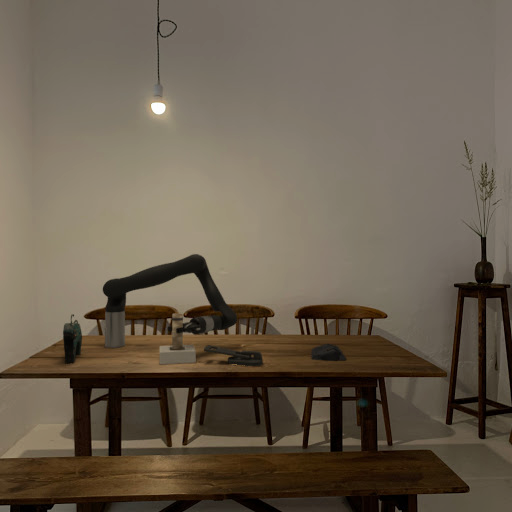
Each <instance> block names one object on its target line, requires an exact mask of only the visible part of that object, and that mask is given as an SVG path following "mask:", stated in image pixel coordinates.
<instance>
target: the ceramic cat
mask: <svg viewBox="0 0 512 512" xmlns="http://www.w3.org/2000/svg"><path fill="white" fill-rule="evenodd" d="M74 317H75V314H72V313H71V315H70V322H67V323H64V324H63V330H62V336H63V337H62V340H63V350H64V363H65V364H67V365H68V364H69V365H70V363H72V364H75V362H76V355H78V356H81V354H82V350H81V349H82V342H83V332H82V328H81V327H82V326H81V325H80V323H78V320H77V319H75V320H74V321H72V318H74Z"/></svg>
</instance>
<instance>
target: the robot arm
mask: <svg viewBox="0 0 512 512" xmlns="http://www.w3.org/2000/svg"><path fill="white" fill-rule="evenodd" d="M206 260H207V259H205V257H204V256H202V255H200V254H198V253H192V254H190V255H188V256H186V257H183V258H181V259H178V260H175V261H172V262H168V263H163V264H158V265H154V266H151V267H148V268H146V269H143V270H140V271H138V272H135V273H132V274H131V275H128V276H124V277H120V278H111V279H109V280H107V281H106V282H105V283H104V284H103V286H102V293H103V295H104V296H105V297H107V301H106V305H105V307H104V308H105V309H104V310H105V313H104V315H105V317H104V319H105V321H104V323H105V326H104V327H105V328H104V348H108V349H109V348H111V349H113V348H116V349H117V348H122V347H125V346H126V329H125V328H126V327H125V326H126V320H125V319H126V313H125V312H126V305H127V304H126V303H127V293H129V292H133V291H136V290H142V289H148V288H153V287H157V286H160V285H162V284H165V283H168V282H169V281H171V280H174V279H175V278H176V279H177V277H181V276H185V275H191V274H194V275H195V277H196V278H197V279H198V281H199V283H200V285H201V287H202V289H203V292H204V294H205V296H206V299H207V301H208V304H209V305H210V307H211V308H212V310H213V312H216V313H217V312H220V313H221V315H216V314H215V315H212V314H211V315H206V316H205V315H204V316H196V317H192V318H191V319H190V320H189V322H188V321H187V322H183V327H181V328H177V329H176V333H183V334H185V333H186V334H187V333H188V334H193V335H200V334H206V333H208V332H212V331H224V330H228V329H230V328H232V327H233V326H235V325H236V324H237V323H238V316H237V314H236V312H235V311H234V310H233V309H232V308H231V307H230V305H229V304H228V303H226V301H225V299H224V297H223V295H222V293H221V292H220V289H219V288H218V286H217V284H216V283H215V281H214V279H213V277H212V275H211V272H210V270H209V267H208V263H207V261H206ZM167 332H172V325H168V326H167Z"/></svg>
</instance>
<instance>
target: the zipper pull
mask: <svg viewBox="0 0 512 512" xmlns="http://www.w3.org/2000/svg"><path fill="white" fill-rule="evenodd" d="M203 351H204V352H207V353H214V354H220V355H225V356H229V357H227V364H228V363H229V364H237V365H245V366H244V367H248V366H258V367H260V365H261V366H262V365H263V363H264V361H263V354H262V353H261V352H260V351H259V350H258V351H257V350H242V351H240V350H233V349H230V348H225V347H220V346H216V345H211V344H209V345H206V346H205V347H204V348H203ZM229 364H228V365H229Z"/></svg>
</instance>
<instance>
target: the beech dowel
mask: <svg viewBox="0 0 512 512" xmlns="http://www.w3.org/2000/svg"><path fill="white" fill-rule="evenodd" d="M171 319H172V320H171V321H172V325H171V326H172V331H171V332H172V337H171V338H172V342H171V345H172V350H183V345H184V343H183V342H184V338H183V337H184V335H183V334H184V332H183V333H176V329H177V328H181V327H183V323H184V313H181V312H180V313H179V312H177V313H172V317H171Z"/></svg>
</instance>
